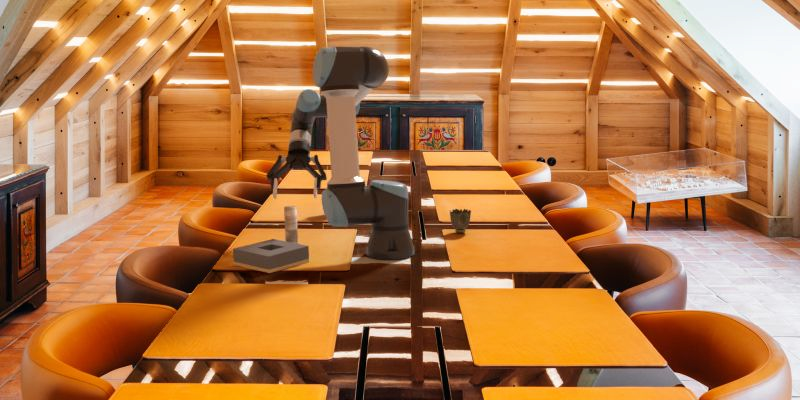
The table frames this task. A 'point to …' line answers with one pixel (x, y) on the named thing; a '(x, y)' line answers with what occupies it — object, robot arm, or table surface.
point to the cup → (460, 220)
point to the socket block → (271, 255)
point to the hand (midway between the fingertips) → (294, 196)
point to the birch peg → (291, 224)
